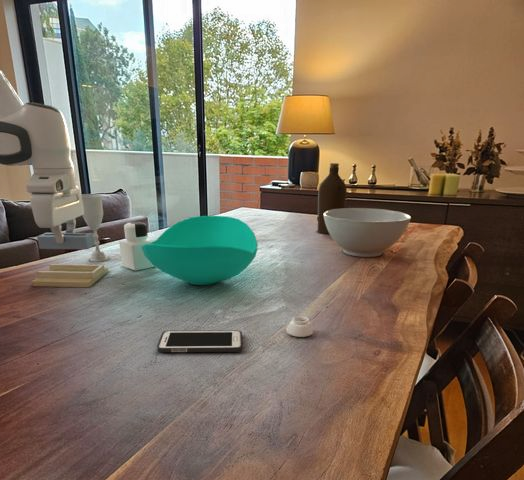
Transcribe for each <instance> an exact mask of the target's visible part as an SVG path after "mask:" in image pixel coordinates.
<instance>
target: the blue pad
mask: <svg viewBox="0 0 524 480" xmlns="http://www.w3.org/2000/svg"><path fill="white" fill-rule="evenodd" d="M62 233H63V235H65V242H63V243H56V240H55V236H54V234H53V232H44V233H42V234H39V235H37V236H36V240H37V243H38V248H39V249H40V250H89V249H91V248H93V247H94V246H95V243H94V242H95V239H94V232H75V233H66V232H62Z"/></svg>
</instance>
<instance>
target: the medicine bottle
mask: <svg viewBox="0 0 524 480" xmlns="http://www.w3.org/2000/svg"><path fill="white" fill-rule="evenodd" d="M123 231H124V232H123V233H124V239H122V240H119V250H120V259H121V265H122V267H125V268H127V269H130V270H132V271H141V270H147V269H150V268H151V269H152V268H156V267H155V266H154V265H153V264H152V263H151V262H150V261H149V260H148V259H147V258H146V257H145V255H144V253H143V250H142V246H143V245H144V244H150V243H152V242H154V241H155V240H151V239H148V238H149V235H148V226H147V224H146V223H144V222H141V221H132V222H127V223H125V224H124V225H123Z"/></svg>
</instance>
